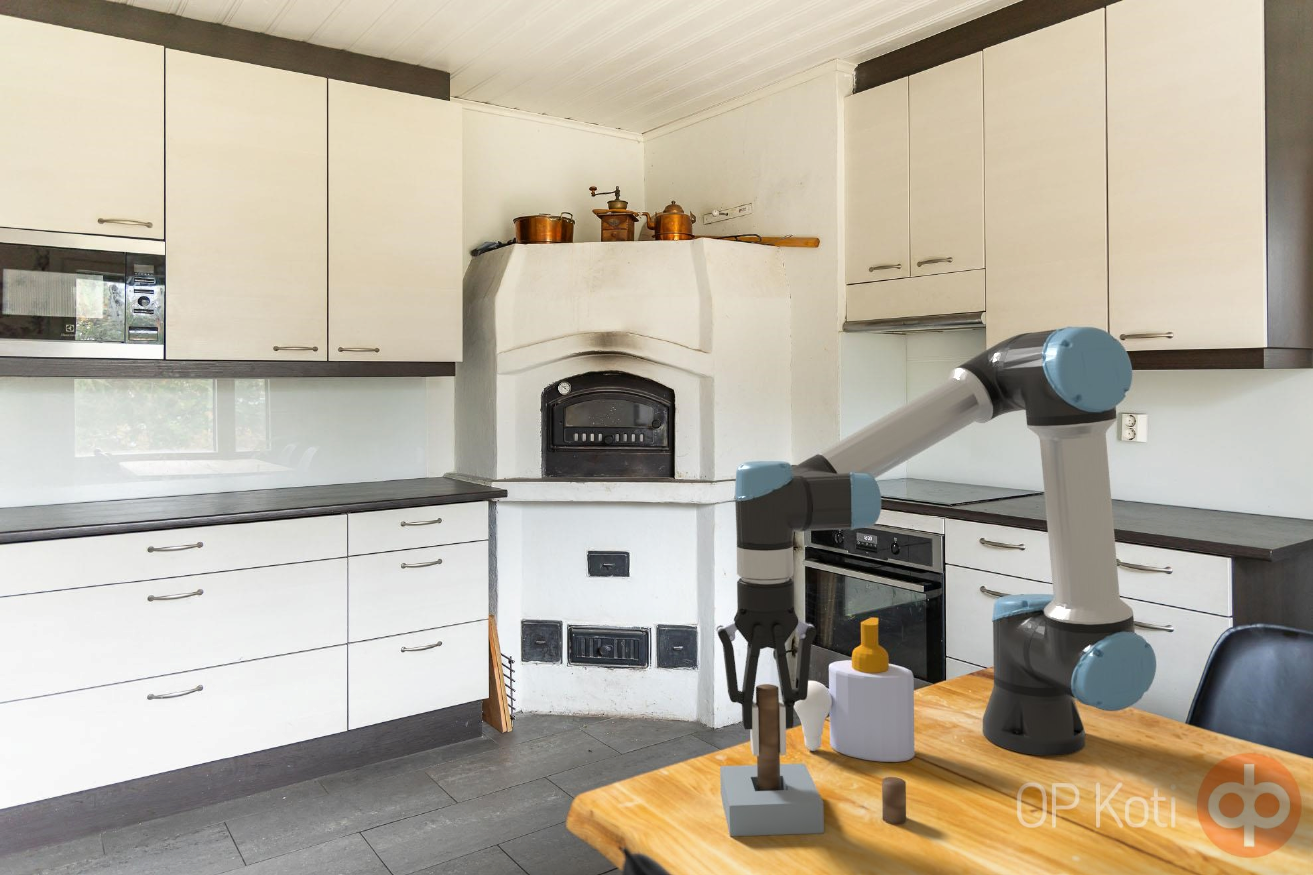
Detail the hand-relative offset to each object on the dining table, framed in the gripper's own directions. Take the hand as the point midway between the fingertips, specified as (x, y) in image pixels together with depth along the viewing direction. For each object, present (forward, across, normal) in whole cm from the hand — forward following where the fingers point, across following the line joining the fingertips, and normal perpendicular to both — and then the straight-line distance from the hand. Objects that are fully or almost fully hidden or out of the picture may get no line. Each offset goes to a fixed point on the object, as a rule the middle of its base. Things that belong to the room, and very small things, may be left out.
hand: (768, 750), depth 117 cm
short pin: (+8, -16, +3) cm, 18 cm away
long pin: (+5, 0, 0) cm, 5 cm away
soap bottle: (+9, -19, -19) cm, 28 cm away
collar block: (+8, 0, 0) cm, 8 cm away
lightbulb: (+9, -10, -20) cm, 24 cm away
